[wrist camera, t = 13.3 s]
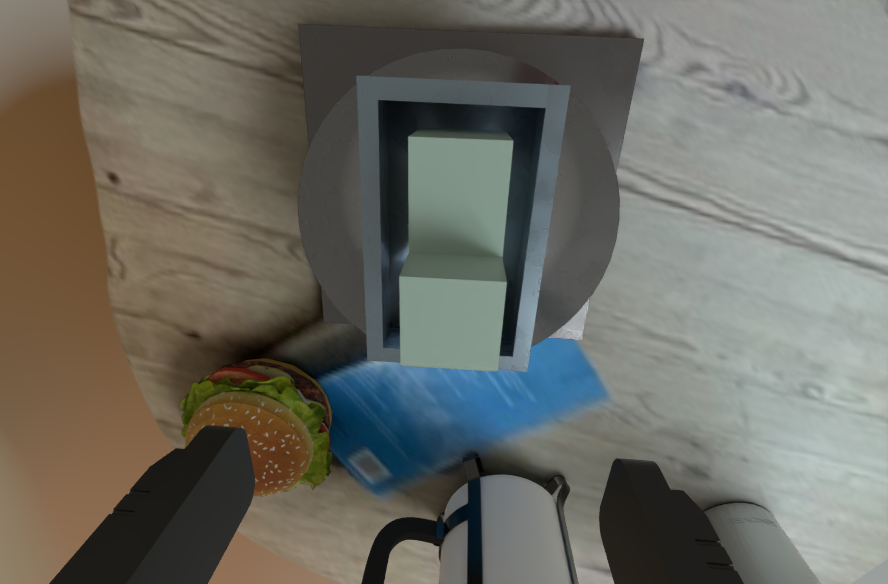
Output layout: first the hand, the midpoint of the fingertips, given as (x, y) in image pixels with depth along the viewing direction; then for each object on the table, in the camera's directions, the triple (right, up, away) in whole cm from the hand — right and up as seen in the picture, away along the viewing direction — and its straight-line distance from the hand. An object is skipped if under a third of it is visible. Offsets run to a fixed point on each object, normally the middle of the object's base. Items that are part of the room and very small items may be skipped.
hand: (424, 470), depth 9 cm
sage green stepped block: (+1, +8, +16) cm, 18 cm away
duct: (+2, +11, +23) cm, 26 cm away
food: (-16, -8, +34) cm, 38 cm away
